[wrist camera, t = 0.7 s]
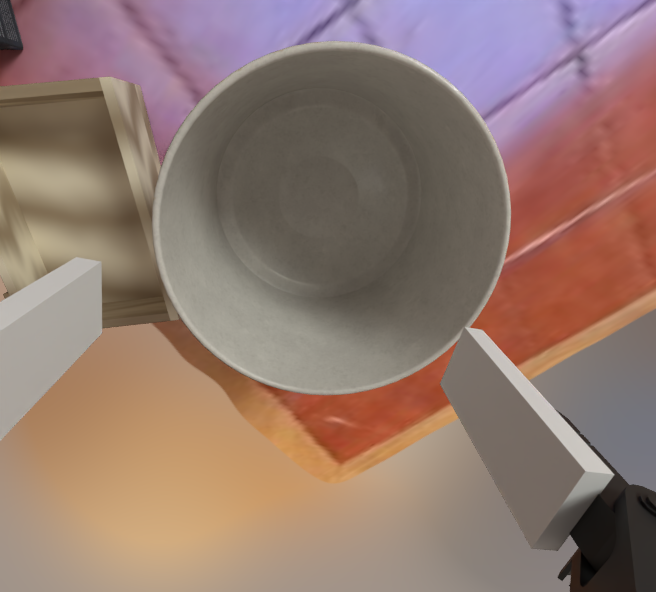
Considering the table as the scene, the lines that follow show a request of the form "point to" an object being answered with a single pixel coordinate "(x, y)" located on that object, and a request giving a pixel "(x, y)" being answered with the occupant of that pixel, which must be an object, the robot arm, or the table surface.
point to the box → (9, 28)
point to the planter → (331, 218)
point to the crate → (81, 191)
